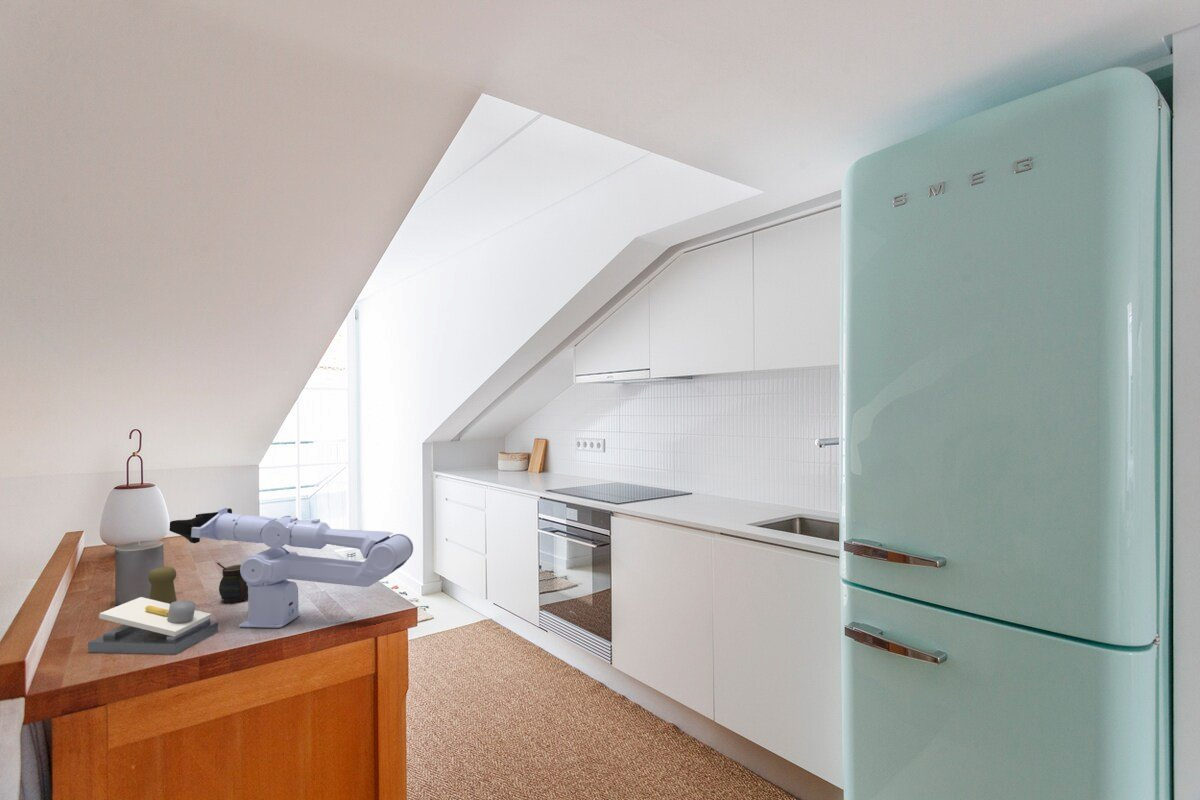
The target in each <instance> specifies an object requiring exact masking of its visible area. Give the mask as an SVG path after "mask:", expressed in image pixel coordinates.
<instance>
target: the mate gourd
mask: <svg viewBox="0 0 1200 800" xmlns="http://www.w3.org/2000/svg"><path fill="white" fill-rule="evenodd" d="M216 564H217V565H218V566H219V567H220V568H222V570H221V571H222V578H221V579H220V582H219V587H218V592H219V595H220V598H221V600H223V601H224V602H226V603H237V602H243V601H245V600H246V599H247V600H248V586H247V582H246V581H245V580H244V579H243V578H242V576H241V573H240V566H241V564H242V563H241V564H240V563H239V564H233V565H228V566H224V565H222V564H221V563H220V562H216Z"/></svg>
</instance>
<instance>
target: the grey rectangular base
mask: <svg viewBox="0 0 1200 800" xmlns="http://www.w3.org/2000/svg"><path fill="white" fill-rule="evenodd" d="M218 632H219V621H211V618H210V619H208V620H207V621H205V622H203V623H201V624H199V625H197V626H195V627H193V628H191V629H189V630H187V631H185V632H183V633H181V634H179V635H177V636H175V637H173V636H169V635H165V634H161V633H157V632H153V631H149V630H145V629H141V628H137V627H133V626H128V625H124V624H121V625H119V626H117V627H115V628H113V629H110V630H108V631H105V632H103V634H102V635H101V636H99V637H97V638H94V639H92V640H89V641H88V642H87V650H88V651H87V652H88V653H97V654H98V653H99V654H103V653H105V654H138V655H139V654H140V655H141V654H142V655H143V654H144V655H177V654H179V653H181V652H183V651H185V650H186V649H188V648H190V647H192V646H193V645H197V643H199V642H201V641H203V640H205V639H206V638H209V637H211V636H212V635H214V634H215V633H218Z"/></svg>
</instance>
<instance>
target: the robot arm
mask: <svg viewBox="0 0 1200 800" xmlns="http://www.w3.org/2000/svg"><path fill="white" fill-rule="evenodd" d="M168 530H169V531H170V532H171V533H174V534H177V535H179V536H182V537H183V538H185V539H186V540H188V542H190V543H191V544H197V543H200V541H201V539H202V538H205V539H211V540H214V541H215V540H216V541H222V540H223V541H233V542H242V543H243V542H245V543H255V544H265V546H267V547H268V549H266V550H263V551H261V552H260V551H259V552H258V553H255V554H252V555H248V556H247V557H246V558H244V559H243V561H242V562H241V566H240V573H241V576H242V578H243V579H244V580H245V581H246V582H247V586H248V598H247V606H248V607H247V608H248V610H247V611H248V612H247V613H248V615H247V617H248V619H247V620H244V621H243V622H241V623H239V624H238V626H239V627H240V628H272V629H273V628H274V629H275V628H278V629H279V628H283V627H284V626H286V625H287V624H289V623H290V622H292V621H294V620H295V619H297V618H299V617H300V616H301V613H300V612H299V586H298V585H297V582H295V581H304V582H311V583H312V582H314V583H324V584H333V585H342V586H353V587H360V588H361V587H362V588H369V587H371V586H372V585H374V584H376V583H378V582H379V581H381V580H384V579H385V578H386V577H388V576H390V574H392V573H394V572H396V571H397V570H398V569H400V568H401V567H403V566H404V565H405V564H406V563H407V562H408V561H409V559H410V558H411V556H412V555H413V552H414V545H413V541H412V540H411V538H410V537H409V536H408V535H406V534H405V533H404V534H403V533H395V534H394V532H391V531H380V530H358V529H357V530H356V529H344V528H343V529H341V528H331V527H330V526H329V524H328V523H327V522H322V521H321V519H319V518H313V519H311V520H303V519H302V520H301V519H298V517H292V516H291V515H284V516H282V517H281V518H275V517H266V516H262V515H261V516H259V515H252V514H250V515H249V514H240V513H239V514H238V513H233V510H232V508H228V507H220V508H219V509H218V511H214V512H206V513H205V512H204V513H197V514H195V517H193V518H187V519H177V520H170V522H169V529H168ZM285 545H287V546H289V547H293V548H294V547H296V548H305V549H312V550H313V549H315V550H322V549H323V548H325V547H326V546H327V545H330V546H337V547H343V548H348V549H349V548H352V549H357V550H359V551H360V553H361V556H362V557H363V558H364V561H361V560H360V561H358V560H349V559H348V560H347V559H341V558H340V559H337V558H330V557H329V558H328V557H319V556H311V555H310V556H308V555H299V554H298V552H297V551H293V550H289V549H287V548H286V547H284V546H285ZM290 580H295V581H290Z"/></svg>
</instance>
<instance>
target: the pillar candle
mask: <svg viewBox="0 0 1200 800" xmlns="http://www.w3.org/2000/svg"><path fill="white" fill-rule="evenodd" d="M164 557H165V555H164V541H160V540H143V541H142V540H141V539H139V540H138V541H133V542H129V543H125V544H121V545H118V546H115V548H114V578H115V579H114V580H115V581H114V583H115V584H114V586H115V587H114V590H115V591H114V595H115V597H114V598H115V602H114V603H115V607H117V606H119V605H122V604H124V603H127V602H129V601H132V600H134V599H137V598H139V597H143V598H147V599H149V597H150V590H151V583H150V582H149V580H148V575H149V573H150V571H151V570H153V569H156V568H160V567H165V566H164V565H165V563H164Z"/></svg>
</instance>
